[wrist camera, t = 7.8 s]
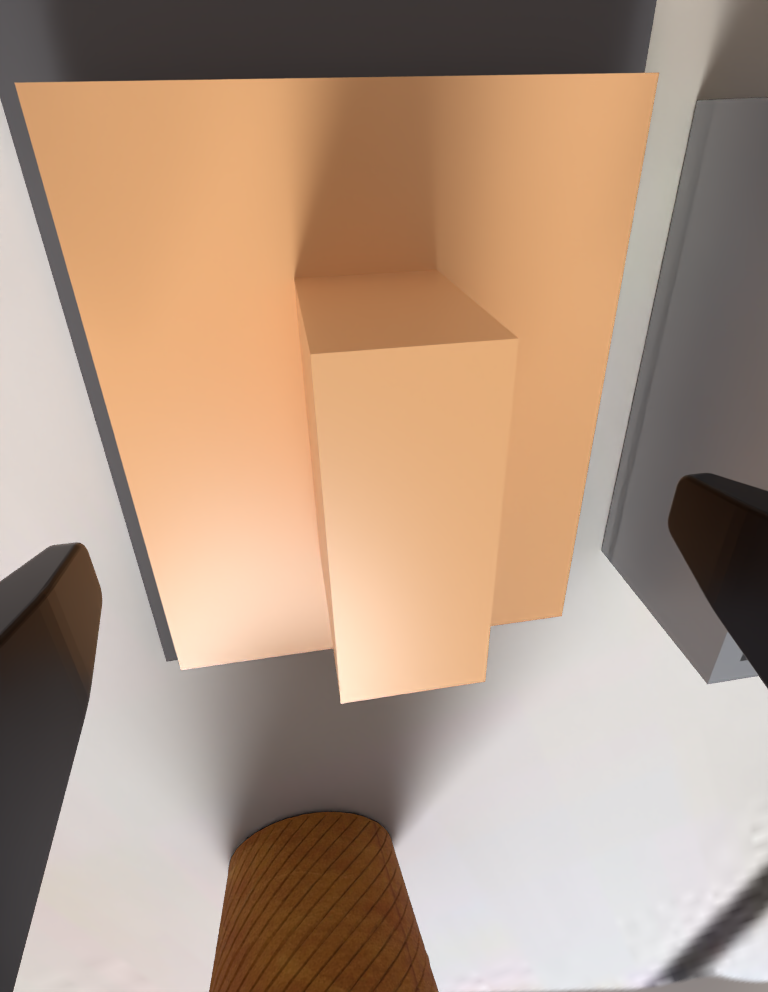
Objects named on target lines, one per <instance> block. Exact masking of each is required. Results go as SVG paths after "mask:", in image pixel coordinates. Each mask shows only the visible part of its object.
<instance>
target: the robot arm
mask: <svg viewBox="0 0 768 992" xmlns="http://www.w3.org/2000/svg"><path fill="white" fill-rule="evenodd" d="M668 529H669V532H670V535H671V537H672V538H673V540H674V542H675V544H676V546H677V547H678V549H679V551H680V553H681V555H682V556H683V558H684V560H685V562H686V564H687V565H688V567H689V569H690V571H691V573H692V574H693V576H694V578H695V580H696V581H697V583H698V585H699V587H700V589H701V590H702V592H703V594H704V596H705V598H706V599H707V601H708V603H709V604H710V606H711V608H712V609H713V611H714V612H715V614H716V615H717V617H718V618H719V620H720V621H721V623H722V624H723V626H724V627H725V629H726V630H727V631H728V633H729V634H730V636H731V637H732V639H733V640H734V641H735V643H736V644H737V646H738V647H739V649H740V650H741V651H742V653H743V654H744V656H745V657H746V659H747V660H748V661H749V663H750V664H751V666H752V667H753V668H754V670H755V671H756V673H757V674H758V676H759V677H760V678H761V680H762V681H763V683H764V684H765V686H766V687H767V688H768V491H766V490H763V489H760V488H757V487H754V486H750V485H747V484H744V483H741V482H738V481H735V480H731V479H728V478H725V477H722V476H719V475H715V474H712V473H697V474H689V475H685V476H683V477H681V478H680V480H679V481H678V483H677V486H676V490H675V494H674V497H673V501H672V505H671V508H670V512H669V515H668ZM101 609H102V592H101V588H100V585H99V582H98V579H97V576H96V573H95V570H94V567H93V564H92V562H91V559H90V556H89V553H88V550H87V549H86V547H85V546H84V545H83V544H81V543H68V544H59V545H52V546H50V547H48V548H46V549H45V550H44V551H42V552H41V553H39V554H38V555H37V556H35V557H34V558H32V559H31V560H30V561H28V562H27V563H25V564H24V565H23V566H21V567H20V568H18V569H17V570H16V571H14V572H13V573H11V574H10V575H9V576H7V577H6V578H4V579H3V580H2V581H0V992H13V990H14V986H15V982H16V978H17V974H18V971H19V967H20V963H21V959H22V955H23V951H24V948H25V944H26V940H27V936H28V932H29V929H30V925H31V921H32V917H33V913H34V910H35V906H36V902H37V898H38V894H39V891H40V887H41V883H42V879H43V875H44V871H45V868H46V864H47V860H48V856H49V852H50V849H51V845H52V841H53V837H54V833H55V830H56V826H57V822H58V818H59V814H60V811H61V807H62V803H63V799H64V795H65V791H66V788H67V784H68V780H69V776H70V772H71V769H72V765H73V761H74V757H75V753H76V750H77V746H78V742H79V738H80V734H81V731H82V727H83V723H84V719H85V715H86V711H87V707H88V702H89V697H90V691H91V685H92V677H93V670H94V662H95V654H96V647H97V639H98V631H99V624H100V616H101Z"/></svg>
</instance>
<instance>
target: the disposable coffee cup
mask: <svg viewBox="0 0 768 992" xmlns="http://www.w3.org/2000/svg"><path fill="white" fill-rule="evenodd" d="M209 992H438V989H437V985H436V982H435V979H434V976H433V973H432V970H431V967H430V962H429V958H428V955H427V953H426V951H425V947H424V944H423V940H422V937H421V934H420V931H419V928H418V925H417V922H416V918H415V915H414V912H413V908H412V905H411V902H410V899H409V896H408V893H407V889H406V886H405V883H404V880H403V877H402V873H401V870H400V867H399V864H398V860H397V857H396V854H395V850H394V847H393V843H392V840H391V837H390V835H389V833H388V832H387V830H386V829H385V828H384V827H382V826H381V825H380V824H379V823H377V822H375V821H373V820H371V819H368V818H366V817H364V816H360V815H356V814H351V813H343V812H319V813H311V814H304V815H300V816H296V817H292V818H288V819H284V820H282V821H279V822H276V823H274V824H271V825H269V826H267V827H266V828H264V829H262V830H260V831H258V832H256V833H255V834H253V835H252V836H251V837H249V838H248V839H247V840H245V841H244V842H243V843H242V844H241V845H240V846H239V847H238V848H237V849H236V851H235V853H234V854H233V856H232V858H231V860H230V864H229V870H228V878H227V884H226V891H225V897H224V903H223V909H222V916H221V922H220V928H219V935H218V941H217V947H216V954H215V960H214V966H213V972H212V978H211V984H210V990H209Z"/></svg>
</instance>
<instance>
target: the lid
mask: <svg viewBox="0 0 768 992" xmlns="http://www.w3.org/2000/svg"><path fill="white" fill-rule="evenodd" d="M658 76H659V73H607V74H542V75H478V76H413V77H349V78H284V79H220V80H155V81H91V82H26V83H15V86H16V90H17V93H18V97H19V101H20V104H21V108H22V111H23V115H24V118H25V122H26V125H27V129H28V132H29V136H30V139H31V143H32V146H33V150H34V153H35V157H36V160H37V164H38V168H39V171H40V175H41V178H42V182H43V185H44V189H45V192H46V196H47V199H48V203H49V206H50V210H51V213H52V217H53V220H54V224H55V227H56V231H57V235H58V238H59V242H60V245H61V249H62V252H63V256H64V259H65V263H66V266H67V270H68V273H69V277H70V280H71V284H72V287H73V291H74V295H75V298H76V302H77V305H78V309H79V312H80V316H81V319H82V323H83V326H84V330H85V333H86V337H87V340H88V344H89V347H90V351H91V354H92V358H93V362H94V365H95V369H96V372H97V376H98V379H99V383H100V386H101V390H102V393H103V397H104V400H105V404H106V407H107V411H108V414H109V418H110V421H111V425H112V429H113V432H114V436H115V439H116V443H117V446H118V450H119V453H120V457H121V460H122V464H123V467H124V471H125V474H126V478H127V481H128V485H129V488H130V492H131V496H132V499H133V503H134V506H135V510H136V513H137V517H138V520H139V524H140V527H141V531H142V534H143V538H144V541H145V545H146V548H147V552H148V556H149V559H150V563H151V566H152V570H153V573H154V577H155V580H156V584H157V587H158V591H159V594H160V598H161V601H162V605H163V608H164V612H165V615H166V619H167V623H168V626H169V630H170V633H171V637H172V640H173V644H174V647H175V651H176V654H177V658H178V661H179V665H180V668H181V670H186V669H193V668H200V667H207V666H214V665H221V664H228V663H235V662H242V661H249V660H256V659H263V658H270V657H277V656H285V655H292V654H299V653H306V652H313V651H320V650H327V649H333V650H334V658H335V665H336V672H337V679H338V686H339V694H340V701H341V704H343V703H350V702H356V701H363V700H369V699H375V698H382V697H388V696H395V695H401V694H408V693H414V692H421V691H427V690H434V689H440V688H446V687H453V686H459V685H466V684H472V683H479V682H485V678H486V668H487V657H488V647H489V637H490V627H491V626H495V625H502V624H509V623H516V622H523V621H530V620H537V619H544V618H551V617H558V616H562V611H563V605H564V600H565V594H566V589H567V583H568V577H569V572H570V566H571V561H572V555H573V550H574V544H575V538H576V533H577V527H578V522H579V516H580V511H581V505H582V499H583V494H584V488H585V483H586V477H587V472H588V466H589V460H590V455H591V449H592V444H593V438H594V433H595V427H596V421H597V416H598V410H599V405H600V399H601V394H602V388H603V383H604V377H605V371H606V366H607V360H608V355H609V349H610V344H611V338H612V332H613V327H614V321H615V316H616V310H617V305H618V299H619V293H620V288H621V282H622V277H623V271H624V266H625V260H626V254H627V249H628V243H629V238H630V232H631V227H632V221H633V215H634V210H635V204H636V199H637V193H638V188H639V182H640V176H641V171H642V165H643V160H644V154H645V149H646V143H647V137H648V132H649V126H650V121H651V115H652V110H653V104H654V98H655V93H656V87H657V82H658Z"/></svg>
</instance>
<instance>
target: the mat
mask: <svg viewBox="0 0 768 992" xmlns="http://www.w3.org/2000/svg"><path fill="white" fill-rule="evenodd" d="M656 1H657V0H0V98H1V102H2V105H3V109H4V112H5V115H6V119H7V122H8V126H9V129H10V132H11V136H12V139H13V143H14V146H15V149H16V153H17V156H18V159H19V163H20V166H21V170H22V173H23V176H24V180H25V183H26V187H27V190H28V193H29V197H30V200H31V203H32V207H33V210H34V214H35V217H36V220H37V224H38V227H39V231H40V234H41V237H42V241H43V244H44V248H45V251H46V254H47V258H48V261H49V264H50V268H51V271H52V275H53V278H54V281H55V285H56V288H57V292H58V295H59V298H60V302H61V305H62V309H63V312H64V315H65V319H66V322H67V325H68V329H69V332H70V336H71V339H72V342H73V346H74V349H75V353H76V356H77V359H78V363H79V366H80V370H81V373H82V376H83V380H84V383H85V386H86V390H87V393H88V397H89V400H90V403H91V407H92V410H93V414H94V417H95V420H96V424H97V427H98V431H99V434H100V437H101V441H102V444H103V447H104V451H105V454H106V458H107V461H108V464H109V468H110V471H111V475H112V478H113V481H114V485H115V488H116V492H117V495H118V498H119V502H120V505H121V508H122V512H123V515H124V519H125V522H126V525H127V529H128V532H129V536H130V539H131V542H132V546H133V549H134V553H135V556H136V559H137V563H138V566H139V569H140V573H141V576H142V580H143V583H144V586H145V590H146V593H147V597H148V600H149V603H150V607H151V610H152V613H153V617H154V620H155V624H156V627H157V630H158V634H159V637H160V641H161V644H162V647H163V651H164V654H165V658H166V661H173V660H178V658H177V654H176V651H175V647H174V644H173V640H172V637H171V633H170V630H169V626H168V623H167V619H166V615H165V612H164V608H163V605H162V601H161V598H160V594H159V591H158V587H157V584H156V580H155V577H154V573H153V570H152V566H151V563H150V559H149V556H148V552H147V548H146V545H145V541H144V538H143V534H142V531H141V527H140V524H139V520H138V517H137V513H136V510H135V506H134V503H133V499H132V496H131V492H130V488H129V485H128V481H127V478H126V474H125V471H124V467H123V464H122V460H121V457H120V453H119V450H118V446H117V443H116V439H115V436H114V432H113V429H112V425H111V421H110V418H109V414H108V411H107V407H106V404H105V400H104V397H103V393H102V390H101V386H100V383H99V379H98V376H97V372H96V369H95V365H94V362H93V358H92V354H91V351H90V347H89V344H88V340H87V337H86V333H85V330H84V326H83V323H82V319H81V316H80V312H79V309H78V305H77V302H76V298H75V295H74V291H73V287H72V284H71V280H70V277H69V273H68V270H67V266H66V263H65V259H64V256H63V252H62V249H61V245H60V242H59V238H58V235H57V231H56V227H55V224H54V220H53V217H52V213H51V210H50V206H49V203H48V199H47V196H46V192H45V189H44V185H43V182H42V178H41V175H40V171H39V168H38V164H37V160H36V157H35V153H34V150H33V146H32V143H31V139H30V136H29V132H28V129H27V125H26V122H25V118H24V115H23V111H22V108H21V104H20V101H19V97H18V93H17V90H16V86H15V83H26V82H91V81H155V80H220V79H284V78H349V77H413V76H478V75H542V74H607V73H644V71H645V66H646V60H647V54H648V48H649V42H650V36H651V30H652V25H653V19H654V13H655V7H656Z"/></svg>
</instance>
